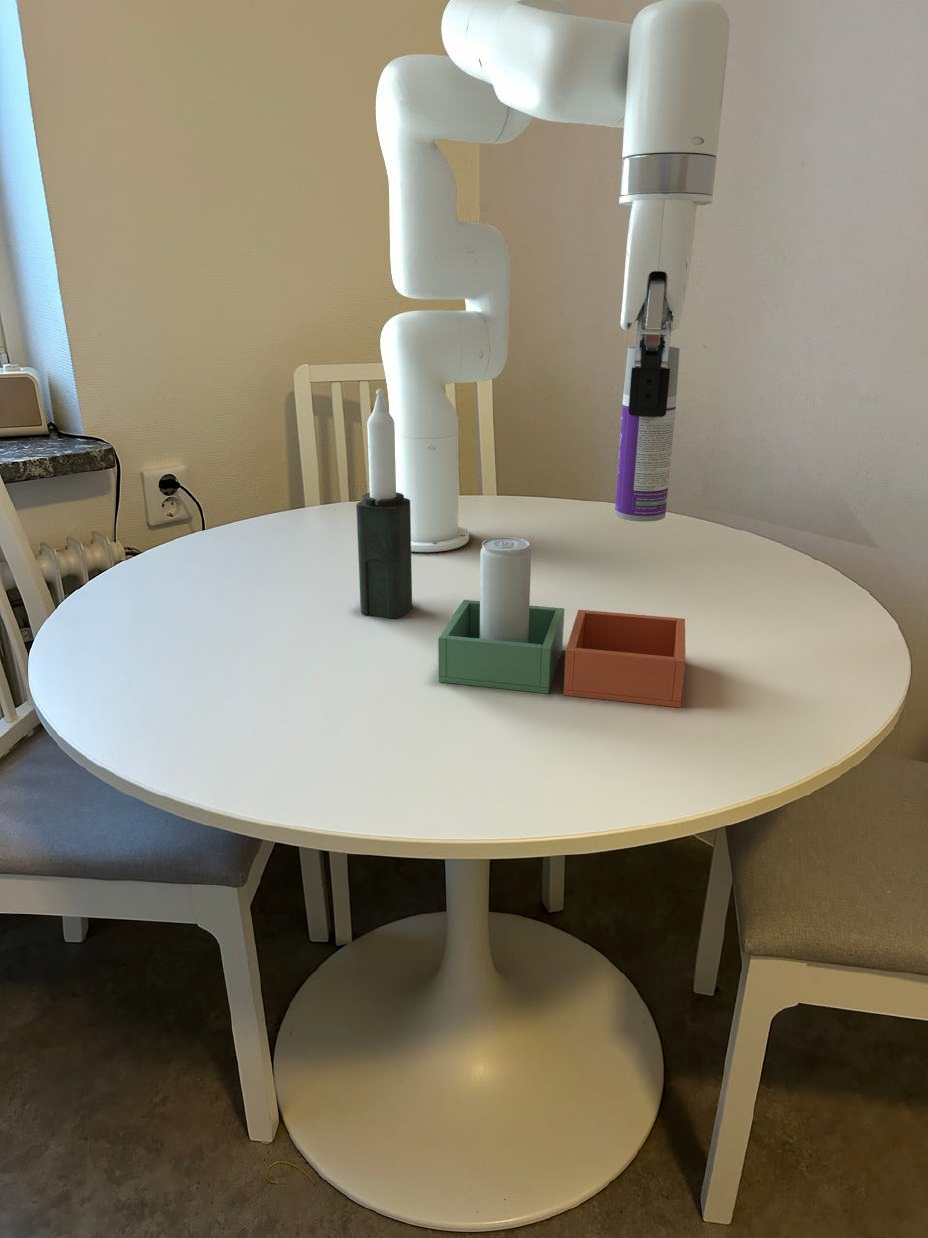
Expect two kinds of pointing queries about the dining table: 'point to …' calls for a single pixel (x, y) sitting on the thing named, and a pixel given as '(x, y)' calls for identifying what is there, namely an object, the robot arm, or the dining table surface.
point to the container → (645, 452)
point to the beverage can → (505, 589)
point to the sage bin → (501, 651)
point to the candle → (383, 525)
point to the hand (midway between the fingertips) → (648, 408)
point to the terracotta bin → (626, 658)
